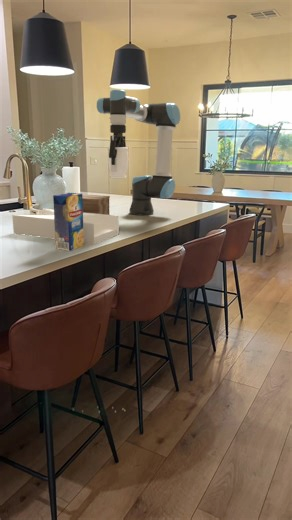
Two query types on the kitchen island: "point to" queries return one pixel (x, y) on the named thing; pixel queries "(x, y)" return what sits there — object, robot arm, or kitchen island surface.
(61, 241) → the blue cardboard box
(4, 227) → the kitchen island surface
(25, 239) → the kitchen island surface
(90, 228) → the white open tray
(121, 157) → the jar
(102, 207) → the walnut block
